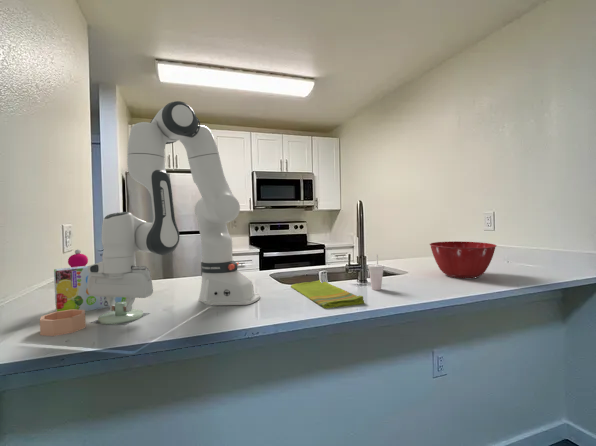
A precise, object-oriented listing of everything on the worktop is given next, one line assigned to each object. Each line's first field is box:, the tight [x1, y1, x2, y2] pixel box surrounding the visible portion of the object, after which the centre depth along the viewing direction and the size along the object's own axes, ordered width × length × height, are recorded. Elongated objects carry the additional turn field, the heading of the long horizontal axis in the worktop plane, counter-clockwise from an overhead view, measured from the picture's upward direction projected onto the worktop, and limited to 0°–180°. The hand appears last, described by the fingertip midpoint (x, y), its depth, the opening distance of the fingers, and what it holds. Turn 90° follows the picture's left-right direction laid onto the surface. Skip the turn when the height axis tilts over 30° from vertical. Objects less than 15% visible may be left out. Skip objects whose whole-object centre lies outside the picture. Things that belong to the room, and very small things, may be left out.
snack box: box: [53, 264, 128, 312], centre depth 112 cm, size 21×6×15 cm, turn 129°
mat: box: [89, 312, 151, 326], centre depth 100 cm, size 12×11×1 cm
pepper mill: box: [67, 248, 89, 268], centre depth 118 cm, size 7×7×20 cm
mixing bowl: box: [429, 240, 497, 279], centre depth 157 cm, size 28×28×15 cm
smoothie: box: [367, 254, 385, 291], centre depth 133 cm, size 6×6×14 cm
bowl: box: [39, 309, 87, 337], centre depth 91 cm, size 10×10×4 cm
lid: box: [97, 302, 144, 325], centre depth 100 cm, size 12×12×4 cm
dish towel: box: [290, 279, 365, 309], centre depth 126 cm, size 15×36×3 cm, turn 20°
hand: (121, 311), depth 100 cm, fingers closed on lid, 3 cm apart
